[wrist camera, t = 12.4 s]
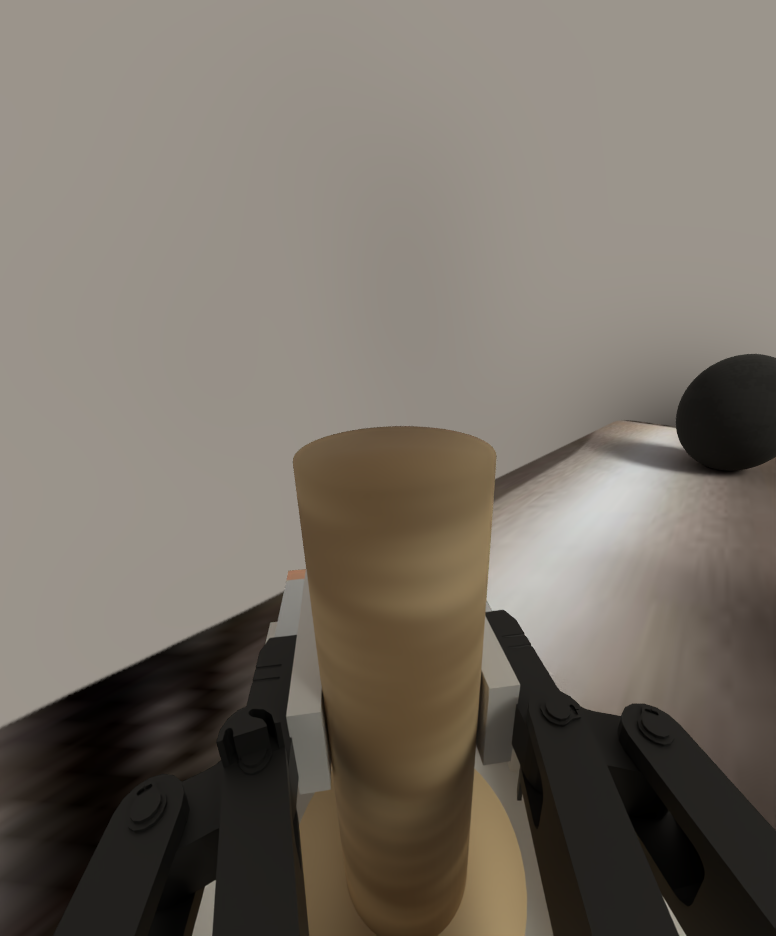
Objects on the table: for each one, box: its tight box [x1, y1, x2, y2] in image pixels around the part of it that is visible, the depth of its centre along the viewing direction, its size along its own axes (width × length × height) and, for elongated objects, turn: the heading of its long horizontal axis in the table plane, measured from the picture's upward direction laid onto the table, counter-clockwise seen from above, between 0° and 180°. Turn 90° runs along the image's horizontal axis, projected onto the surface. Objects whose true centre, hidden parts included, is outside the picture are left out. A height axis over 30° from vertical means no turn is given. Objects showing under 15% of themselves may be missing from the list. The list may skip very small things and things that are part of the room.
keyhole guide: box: [192, 569, 686, 936], centre depth 15 cm, size 15×24×5 cm, turn 7°
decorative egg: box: [676, 354, 776, 471], centre depth 50 cm, size 12×12×15 cm
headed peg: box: [293, 426, 527, 936], centre depth 10 cm, size 8×8×16 cm
